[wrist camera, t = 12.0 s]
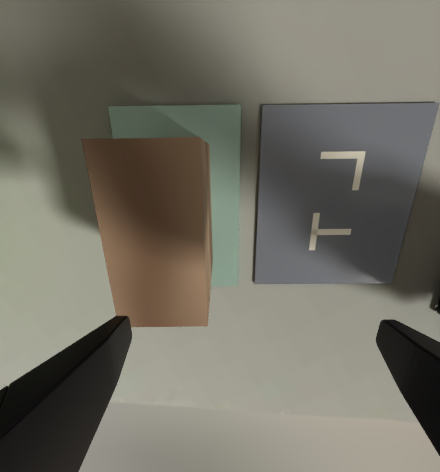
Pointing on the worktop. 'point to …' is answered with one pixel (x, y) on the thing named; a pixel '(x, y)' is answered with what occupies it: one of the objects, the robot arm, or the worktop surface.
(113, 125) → the green mat
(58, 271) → the worktop surface
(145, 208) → the walnut block
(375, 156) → the plate
